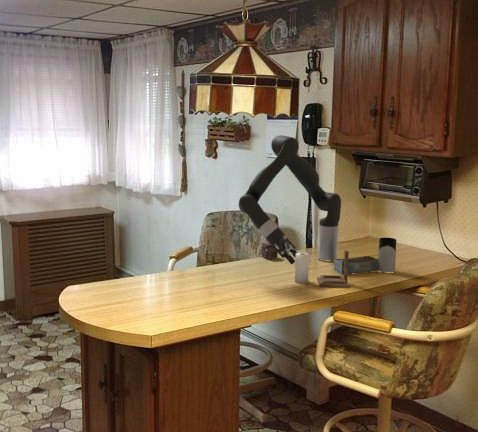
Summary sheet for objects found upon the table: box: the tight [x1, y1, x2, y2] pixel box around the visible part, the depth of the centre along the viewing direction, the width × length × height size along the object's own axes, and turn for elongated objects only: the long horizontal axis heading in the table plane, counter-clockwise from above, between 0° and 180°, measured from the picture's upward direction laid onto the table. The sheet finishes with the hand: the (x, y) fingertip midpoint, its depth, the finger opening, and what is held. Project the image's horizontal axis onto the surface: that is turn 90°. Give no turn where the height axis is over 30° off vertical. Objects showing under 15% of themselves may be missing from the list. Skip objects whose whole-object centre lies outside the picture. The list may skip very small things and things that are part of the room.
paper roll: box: [294, 252, 310, 284], centre depth 248 cm, size 6×6×12 cm
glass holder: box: [377, 237, 397, 272], centre depth 270 cm, size 9×14×15 cm, turn 166°
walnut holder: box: [316, 249, 350, 289], centre depth 246 cm, size 12×12×14 cm
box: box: [261, 241, 279, 260], centre depth 291 cm, size 6×6×7 cm
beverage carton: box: [333, 255, 378, 276], centre depth 267 cm, size 8×19×7 cm, turn 110°
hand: (296, 260), depth 249 cm, fingers open, 8 cm apart
